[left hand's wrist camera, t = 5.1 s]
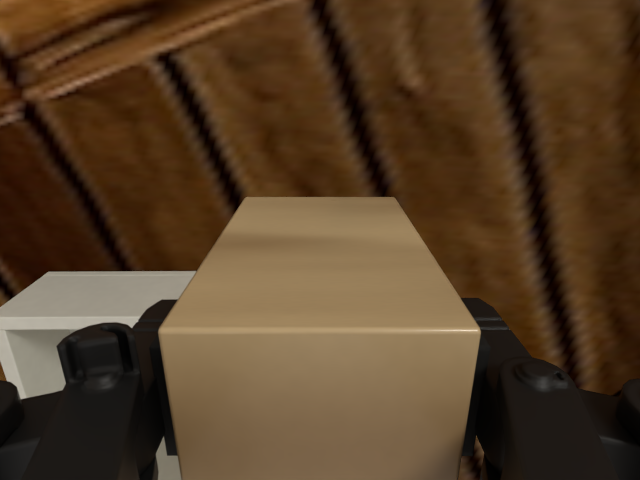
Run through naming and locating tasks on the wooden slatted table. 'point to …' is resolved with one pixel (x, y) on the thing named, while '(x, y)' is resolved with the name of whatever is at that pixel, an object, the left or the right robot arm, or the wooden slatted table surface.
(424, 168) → the wooden slatted table surface
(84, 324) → the handled bin
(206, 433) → the birch block
